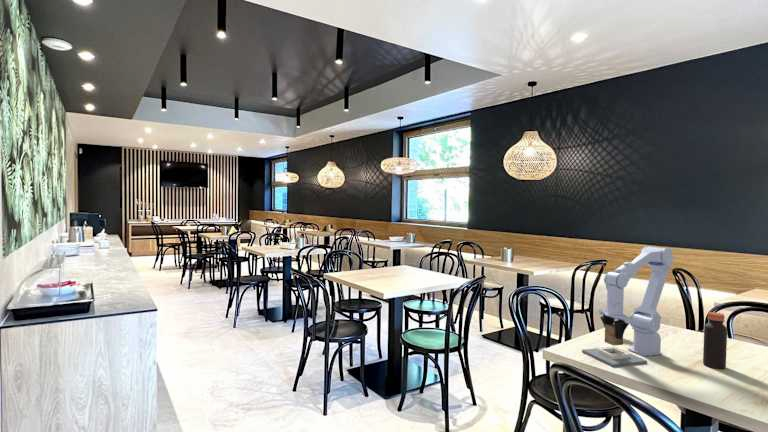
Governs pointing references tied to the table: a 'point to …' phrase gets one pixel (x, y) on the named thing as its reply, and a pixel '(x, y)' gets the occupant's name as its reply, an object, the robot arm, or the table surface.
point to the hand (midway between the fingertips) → (614, 336)
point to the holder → (614, 356)
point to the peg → (612, 335)
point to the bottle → (715, 341)
